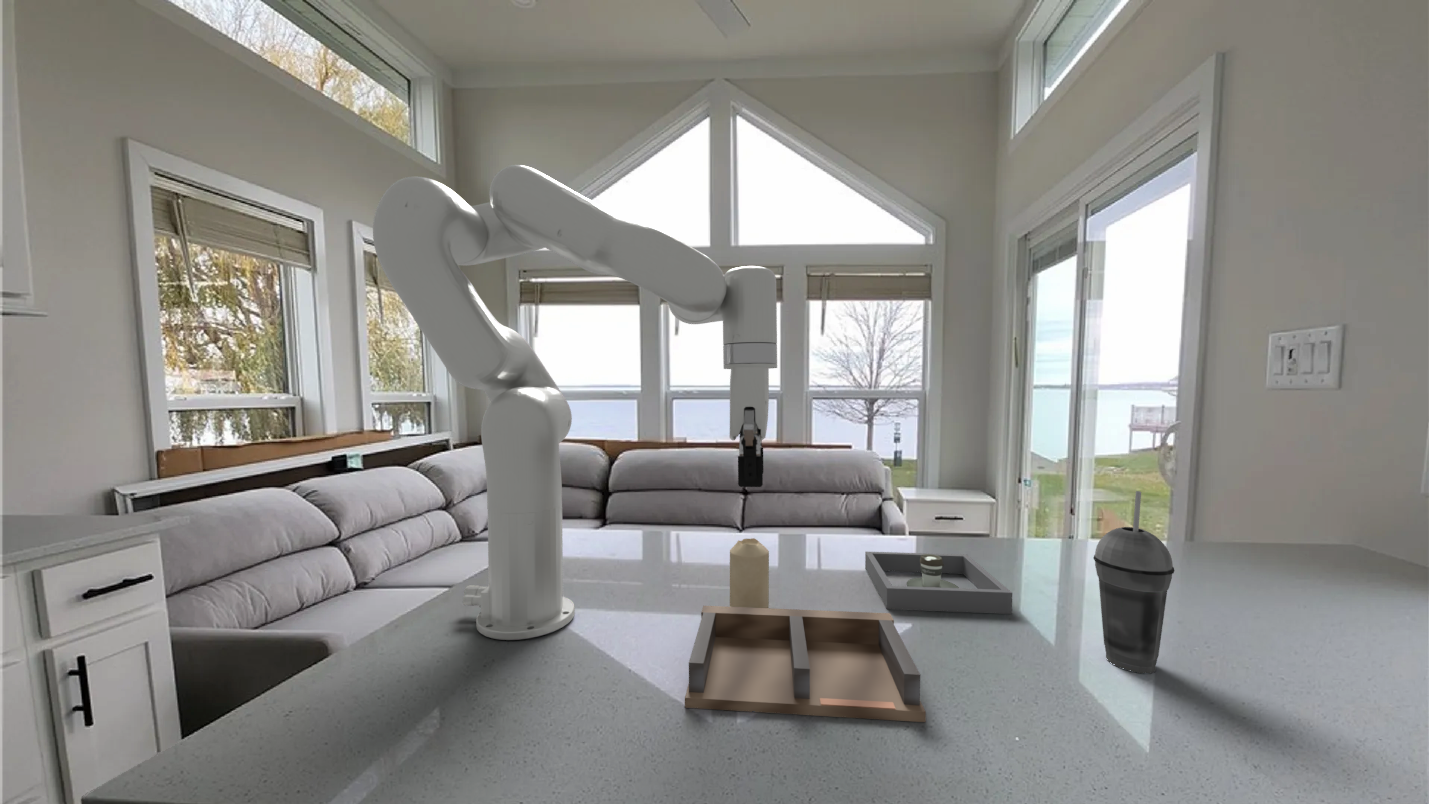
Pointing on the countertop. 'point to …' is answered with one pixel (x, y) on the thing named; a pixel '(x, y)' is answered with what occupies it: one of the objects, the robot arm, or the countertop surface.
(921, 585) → the coffee cup
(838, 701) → the wooden divided tray
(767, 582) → the candle
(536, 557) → the robot arm
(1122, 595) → the beverage cup
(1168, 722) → the countertop surface
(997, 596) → the grey shallow square tray
